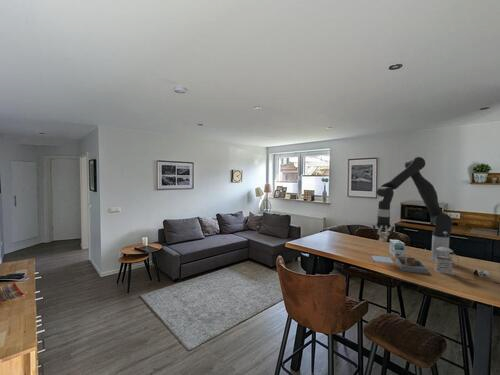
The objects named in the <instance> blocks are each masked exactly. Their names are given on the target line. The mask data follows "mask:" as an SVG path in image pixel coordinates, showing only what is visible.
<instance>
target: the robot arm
mask: <svg viewBox="0 0 500 375" xmlns="http://www.w3.org/2000/svg"><path fill="white" fill-rule="evenodd" d="M425 166H426V160H425V159H424V158H423V157H421V156H417V157H416V156H415V157H413V158H409V159H407V160H406V161H405V163H404V167H405V169H403V170H402V171H400V172H398V173H397V174H395V175H394V176H392V178H391V179H390V180H388V181H387V182H385V183H383V184H382V185H380V186H379V187H378V188H377V189H376V195H377V196H379V197H381V198H383V199H382V200H379V201H378V206H377V207H378V210H377V220H376V221H377V222H376V224H372V228H373V229H372V230H373V232H374V234H376V238H377V240H378V241H379V233H380V232H382V231H384V232H386V233H387V242H388V241H390V236H391V235H392V236H393V234H394V231H395V226H394V225H391V223H390V222H391V203H392V200H393V197H394V190H397V189H398V188H399V187H400V186H401V185H403V183H405V182H406V181H407V180H408V179H409V178H411V179H412V181H413V183H414V186H415V187H416V189H417V192H418V194H419V195H420V197H421V200H422V201H423V203H424V205H425V207H426V209H427V211H428V213H429V214H428V215H429V216H430V219H431V222H432V223H433V224H434V225H435V226H434V227H435V228H434V230H433V231H432V236H431V237H432V238H431V255H430V258H431V261H435V262H436V257H437V255H444V252H441V251H438V250H436V248H439V247H444V246H445V247H446V248H449V247H450V235H451V233H452V227H453V226H452V225H453V219H452V217H451V216H450V215H448V214H447V213H444V212H443V210H442V208H441V207H440V204H439V199H438V193H437V191H436V189H435V186H434V185H433V184H432V183H431V182H430V181H429V180H428V179H426V178H425V177H424V176H423V175H422V174H421V172H420V171H421V170H423V168H425ZM376 228H378V229H377V230H376ZM389 229H390V231H389ZM443 232H447V234H446V235H445V234H444V233H443ZM449 249H450V248H449ZM445 256H450V257H451V253H446V252H445ZM443 260H446V259H443ZM446 261H448V260H446Z"/></svg>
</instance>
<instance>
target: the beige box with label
mask: <svg viewBox="0 0 500 375" xmlns="http://www.w3.org/2000/svg"><path fill="white" fill-rule="evenodd" d="M378 242H379V243H380V242H381V243H388V241H387V233H386V231H380V233H379V240H378Z"/></svg>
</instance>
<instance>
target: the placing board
mask: <svg viewBox="0 0 500 375" xmlns="http://www.w3.org/2000/svg"><path fill="white" fill-rule="evenodd" d="M371 258H372V261H373V262H382V263H390V264H394V261H393V260H392V258H391V256H390V257H388V256H380V255H371Z"/></svg>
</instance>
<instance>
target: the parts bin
mask: <svg viewBox="0 0 500 375" xmlns="http://www.w3.org/2000/svg"><path fill="white" fill-rule="evenodd" d="M395 263H396V265H397V266H398V267H399V269H400V271H403V272H409V273H418V274H424V275H426V274H427V275H429V268H428V267H427V266H426V265H425V264H424V263H423V262H422V261H421V260H417V259H415V267H412V266H406V265H405V258H404V257H395Z"/></svg>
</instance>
